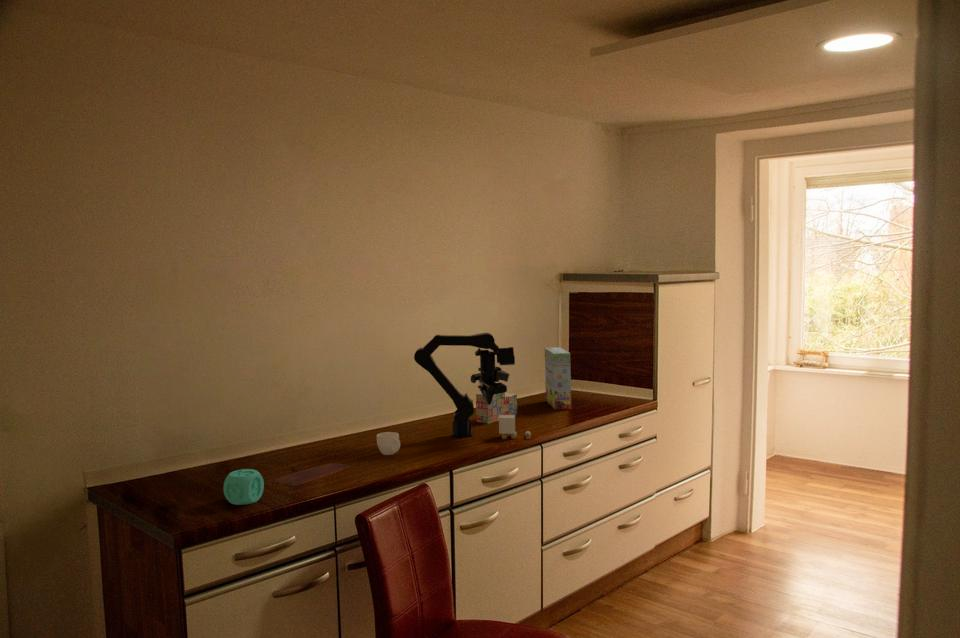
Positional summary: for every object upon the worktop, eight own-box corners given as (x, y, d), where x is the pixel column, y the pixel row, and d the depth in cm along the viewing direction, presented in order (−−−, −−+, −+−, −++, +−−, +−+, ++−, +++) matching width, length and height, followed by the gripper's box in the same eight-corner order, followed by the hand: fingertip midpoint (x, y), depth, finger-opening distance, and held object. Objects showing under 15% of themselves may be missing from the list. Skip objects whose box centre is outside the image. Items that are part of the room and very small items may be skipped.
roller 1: (502, 440, 279) (507, 438, 279) (501, 435, 279) (506, 433, 279) (503, 436, 285) (507, 435, 285) (501, 431, 285) (506, 430, 285)
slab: (499, 433, 280) (498, 417, 279) (499, 430, 285) (499, 415, 284) (515, 433, 279) (515, 417, 279) (515, 430, 284) (514, 415, 284)
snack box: (543, 401, 354) (543, 347, 352) (561, 400, 355) (561, 347, 353) (553, 410, 333) (553, 352, 331) (572, 409, 334) (572, 352, 332)
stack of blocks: (505, 413, 327) (505, 385, 326) (517, 415, 323) (517, 387, 322) (476, 422, 310) (475, 393, 309) (488, 424, 306) (487, 394, 305)
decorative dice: (240, 495, 215) (239, 468, 214) (264, 497, 213) (263, 470, 212) (223, 503, 207) (222, 475, 207) (248, 506, 205) (247, 477, 204)
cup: (389, 449, 265) (389, 430, 265) (408, 454, 259) (407, 435, 258) (372, 453, 260) (372, 434, 259) (391, 458, 253) (390, 439, 252)
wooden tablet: (294, 489, 222) (294, 484, 222) (271, 484, 227) (271, 478, 227) (355, 468, 244) (355, 463, 244) (333, 463, 250) (333, 458, 249)
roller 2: (532, 436, 279) (527, 433, 279) (528, 440, 279) (524, 437, 279) (531, 433, 284) (527, 429, 284) (528, 437, 285) (524, 433, 285)
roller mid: (510, 437, 279) (514, 440, 279) (513, 433, 279) (517, 436, 279) (510, 433, 285) (514, 437, 285) (513, 429, 285) (517, 433, 285)
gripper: (518, 368, 280) (519, 407, 283) (494, 356, 296) (495, 393, 299) (492, 373, 274) (494, 413, 278) (469, 361, 290) (470, 398, 294)
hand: (489, 404), depth 288 cm, fingers closed
